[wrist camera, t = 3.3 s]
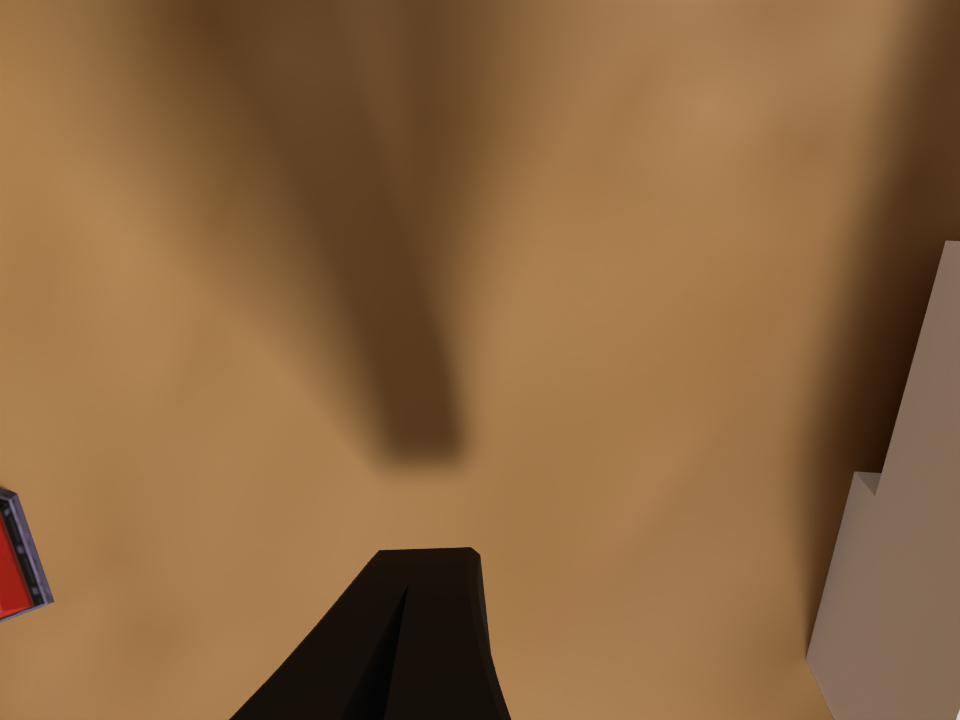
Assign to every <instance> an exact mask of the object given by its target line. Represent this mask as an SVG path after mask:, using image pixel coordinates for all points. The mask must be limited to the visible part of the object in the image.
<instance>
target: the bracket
mask: <svg viewBox="0 0 960 720" xmlns="http://www.w3.org/2000/svg"><path fill="white" fill-rule="evenodd" d="M806 661H807V664H808V666H809V668H810V670H811V672H812V674H813V676H814V678H815V680H816V682H817V685H818V687H819V689H820V691H821V693H822V695H823V697H824V699H825V701H826V704H827V706H828V708H829V710H830V712H831V714H832V716H833V718H834V720H960V241H945V245H944V249H943V252H942V256H941V260H940V263H939V267H938V270H937V274H936V278H935V281H934V285H933V289H932V292H931V296H930V299H929V303H928V307H927V310H926V314H925V318H924V321H923V325H922V329H921V332H920V336H919V339H918V343H917V347H916V350H915V354H914V358H913V361H912V365H911V368H910V372H909V376H908V379H907V383H906V387H905V390H904V394H903V398H902V401H901V405H900V408H899V412H898V416H897V419H896V423H895V427H894V430H893V434H892V437H891V441H890V445H889V448H888V452H887V456H886V459H885V463H884V466H883V470H882V473H869V472H854V475H853V479H852V483H851V487H850V491H849V495H848V498H847V502H846V506H845V510H844V514H843V518H842V522H841V525H840V529H839V533H838V537H837V541H836V545H835V548H834V552H833V556H832V560H831V564H830V568H829V572H828V575H827V579H826V583H825V587H824V591H823V595H822V598H821V602H820V606H819V610H818V614H817V618H816V622H815V625H814V629H813V633H812V637H811V641H810V645H809V648H808V652H807V656H806Z"/></svg>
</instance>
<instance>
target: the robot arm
mask: <svg viewBox="0 0 960 720" xmlns="http://www.w3.org/2000/svg"><path fill="white" fill-rule="evenodd" d="M229 720H511V718H510V715H509V712H508V709H507V706H506V703H505V700H504V697H503V694H502V691H501V688H500V685H499V681H498V678H497V675H496V671H495V667H494V664H493V660H492V656H491V650H490V641H489V632H488V623H487V613H486V604H485V595H484V586H483V577H482V567H481V558H480V554H479V553H477V552H476V551H475V550H474V549H472V548H471V547H464V548H434V549H404V550H379V551H378V552H377V553H376V554H375V555H374V557H373V558H372V559H371V560H370V561H369V562H368V563H367V565H366V566H365V567H364V568H363V569H362V571H361V572H360V573H359V574H358V576H357V577H356V578H355V579H354V580H353V582H352V583H351V584H350V585H349V586H348V588H347V589H346V590H345V591H344V593H343V594H342V595H341V596H340V597H339V599H338V600H337V601H336V602H335V603H334V605H333V606H332V607H331V608H330V609H329V611H328V612H327V613H326V614H325V615H324V617H323V618H322V619H321V620H320V621H319V623H318V624H317V625H316V626H315V627H314V628H313V629H312V631H311V632H310V633H309V634H308V635H307V636H306V637H305V639H304V640H303V641H302V642H301V643H300V644H299V645H298V647H297V648H296V649H295V650H294V651H293V652H292V653H291V654H290V656H289V657H288V658H287V659H286V660H285V661H284V662H283V664H282V665H281V666H280V667H279V668H278V669H277V670H276V671H275V672H274V673H273V675H272V676H271V677H270V678H269V679H268V680H267V681H266V682H265V683H264V684H263V685H262V686H261V687H260V688H259V689H258V690H257V691H256V692H255V693H254V694H253V695H252V697H251V698H250V699H249V700H248V701H247V702H246V703H245V704H244V705H243V706H242V707H241V708H240V709H239V710H238V711H237V712H236V713H235V714H234V715H233V716H232V717H231V718H230V719H229Z"/></svg>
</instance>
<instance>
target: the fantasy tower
mask: <svg viewBox="0 0 960 720" xmlns="http://www.w3.org/2000/svg"><path fill="white" fill-rule="evenodd" d="M53 602H54V599H53V597H52V594H51V591H50V588H49V585H48V582H47V579H46V576H45V573H44V570H43V567H42V564H41V562H40V559H39V556H38V553H37V550H36V547H35V544H34V541H33V538H32V535H31V532H30V529H29V527H28V524H27V521H26V518H25V515H24V512H23V509H22V506H21V503H20V500H19V497H18V495H17V493H13V492H10V491H7V490H3V489H0V622H3V621H5V620H8V619H11V618H13V617H16V616H19V615H21V614H24V613H26V612H29V611H32V610H34V609H37V608H40V607H42V606H45V605H48V604H50V603H53Z"/></svg>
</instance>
